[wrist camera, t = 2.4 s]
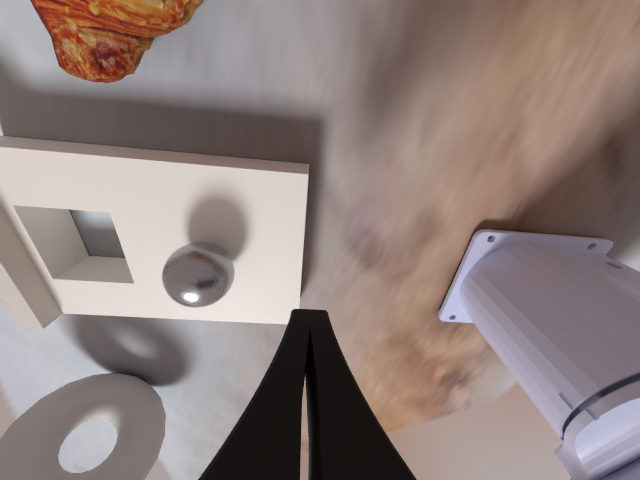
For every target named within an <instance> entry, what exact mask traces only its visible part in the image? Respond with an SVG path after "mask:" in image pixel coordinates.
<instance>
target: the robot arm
mask: <svg viewBox="0 0 640 480" xmlns="http://www.w3.org/2000/svg"><path fill="white" fill-rule="evenodd" d="M490 236H491V238H489V239H488V237H490ZM612 247H613V242H612V241H610V240H608V239H605V238H593V237H580V236H567V235H554V234H541V233H529V232H516V231H503V230H490V229H481V230H478V231H477V232H476V233H475V234H474V235H473V238H472V240H471V242H470V244H469V246H468V249H467V251H466V253H465V255H464V258H463V260H462V262H461V264H460V266H459V269H458V271H457V273H456V275H455V278H454V280H453V282H452V284H451V287H450V289H449V291H448V293H447V295H446V298H445V300H444V302H443V304H442V307H441V309H440V311H439V313H438V317H439V318H440V320H441V321H447V322H466V323H474V324H475V326H476V327H477V328H478V330H479V331H480V332H481V334H482V335H483V336H484V338H485V339H486V340H487V341H488V343H489V344H490V345H491V347H492V348H493V349H494V351H495V352H496V353H497V355H498V356H499V357H500V359H501V360H502V361H503V363H504V364H505V365H506V367H507V368H508V369H509V371H510V372H511V373H512V375H513V376H514V377H515V379H516V380H517V381H518V383H519V384H520V385H521V387H522V388H523V389H524V391H525V392H526V393H527V394H528V396H529V397H530V398H531V400H532V401H533V402H534V404H535V405H536V406H537V408H538V409H539V410H540V412H541V413H542V414H543V416H544V417H545V418H546V420H547V421H548V422H549V424H550V425H551V426H552V428H553V429H554V430H555V432H556V433H557V434H558V436H559V437H560V438H561V439H562V440H563V441H564V442H563V443H562V445H561V446H560V447H559V448H558V449H557V450H555V451H554V453H555V454H556V456H557V457H558V459H559V460H560V462H561V463H562V465H563V466H564V467H565V469H566V470H567V472H568V473H569V475H570V476H571V477H572V478H571V480H640V272H639V271H637V270H635V269H633V268H631V267H629V266H627V265H624V264H622V263H620V262H618V261H616V260H614V259H612V258H610V257H608V256H606V255H607V254H608V252H609V251H610V250H611V249H612ZM305 376H306V396H307V416H308V436H309V479H308V480H416V478H415V477H414V475H413V474H412V472H411V471H410V469H409V468H408V466H407V465H406V463H405V462H404V460H403V459H402V458H401V456H400V455H399V453H398V452H397V450H396V449H395V447H394V446H393V444H392V443H391V441H390V440H389V438H388V436H387V435H386V433H385V432H384V430H383V428H382V427H381V425H380V424H379V422H378V420H377V419H376V417H375V415H374V413H373V412H372V410H371V408H370V407H369V405H368V403H367V401H366V400H365V398H364V396H363V394H362V392H361V390H360V389H359V387H358V385H357V383H356V381H355V379H354V377H353V375H352V373H351V371H350V369H349V367H348V365H347V362H346V360H345V358H344V356H343V354H342V351H341V349H340V347H339V344H338V342H337V339H336V337H335V334H334V331H333V329H332V326H331V323H330V319H329V316H328V312H327V311H326V310H310V309H293V310H292V311H291V315H290V319H289V322H288V325H287V328H286V331H285V333H284V336H283V338H282V341H281V343H280V345H279V347H278V350H277V352H276V354H275V356H274V358H273V360H272V362H271V364H270V366H269V368H268V370H267V372H266V374H265V376H264V378H263V380H262V381H261V383H260V385H259V387H258V389H257V391H256V392H255V394H254V396H253V397H252V399H251V401H250V403H249V404H248V406H247V408H246V409H245V411H244V412H243V414H242V416H241V417H240V419H239V421H238V422H237V424H236V425H235V427H234V428H233V430H232V431H231V433H230V434H229V436H228V437H227V439H226V441H225V442H224V444H223V445H222V447H221V448H220V450H219V451H218V453H217V454H216V455H215V457H214V458H213V460H212V461H211V463H210V464H209V465H208V467H207V468H206V470H205V471H204V472H203V474H202V475H201V477H200V478H199V479H198V480H300V453H301V415H302V395H303V387H304V378H305Z"/></svg>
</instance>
